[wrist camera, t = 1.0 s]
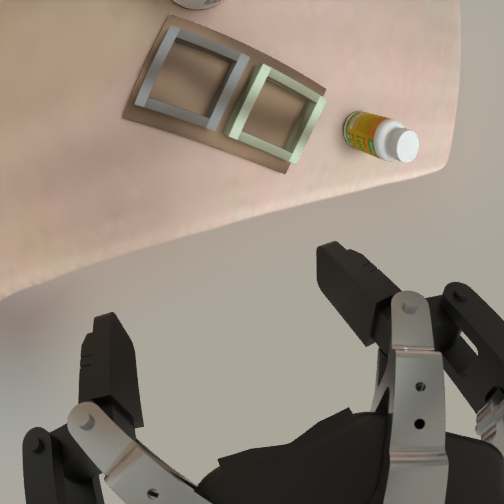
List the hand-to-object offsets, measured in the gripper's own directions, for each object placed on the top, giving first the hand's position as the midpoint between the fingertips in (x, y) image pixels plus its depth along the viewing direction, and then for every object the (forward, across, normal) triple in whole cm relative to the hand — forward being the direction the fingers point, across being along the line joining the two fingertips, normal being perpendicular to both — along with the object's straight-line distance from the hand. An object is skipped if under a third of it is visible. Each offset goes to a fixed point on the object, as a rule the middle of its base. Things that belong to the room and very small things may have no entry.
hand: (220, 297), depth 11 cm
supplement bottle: (+25, -25, +2) cm, 35 cm away
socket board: (+25, -8, -5) cm, 26 cm away
